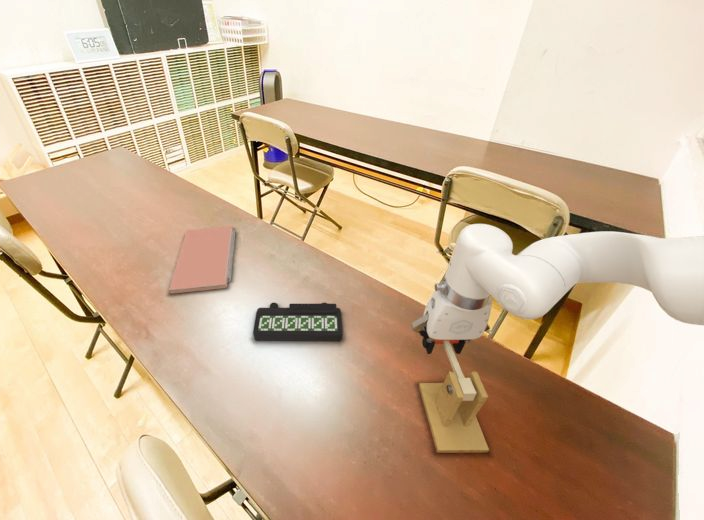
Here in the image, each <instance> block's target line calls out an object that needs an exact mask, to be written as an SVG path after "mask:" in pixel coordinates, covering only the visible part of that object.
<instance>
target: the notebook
mask: <svg viewBox="0 0 704 520" xmlns="http://www.w3.org/2000/svg"><path fill="white" fill-rule="evenodd" d="M235 242H236V230H235V229H234V226H233V225H227V226H216V227H206V228H195V229H186V230H185V233H184V237H183V241H182V243H181V248H180V251H179V254H178V257H177V261H176V263H175V264H176V265H175V268H174V271H173V274H172V277H171V281H170V283H169V288H168V291H169V294H170V295H172V294H173V295H174V294H182V293H191V292H199V291H210V290H220V289H227V288H228V283H229V282H231V280H232V274H233V273H232V272H233V261H234V253H235Z"/></svg>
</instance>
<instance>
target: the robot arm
mask: <svg viewBox="0 0 704 520" xmlns="http://www.w3.org/2000/svg"><path fill="white" fill-rule="evenodd" d="M513 249H514V244H513V241H512V239H511V237H510V235H508V233H506V232H505V231H504V230H502V229H501V228H499V227H497V226H494V225H491V224H488V223H473V224H468V225H467V226H465V227H464V228H462V230H460V233H458V236H457V239H456V242H455V245H454V248H453V250H452V254H451V257H450V259H449V262H448V264H447V268H446V270H445V274H444V276H443V278H442V280H441V282H438V283H434V291H433V293H432V294H431V296H430V298H429V300H428V302H427V303H426V305H425V308H424V311H423V313H422V316H420V317H418V318H417V319H416V320H414V321H413V322H410V326H411V329H412V331H414V332H415V333H417V334H419V335H420V336H421V338H422V340H421V344H422V347H423V349H425V350H426V354H427V355H431V354H433V350H434V348H435V345H436V344H435V341H434V340H435V339H438V340H459V343H457V344H451V346H452V348H453V351H454V354H456V355H461V353H462V351H463V348H465V345H466V343H470V342H471V341H472V340H477V339H479V338H481V337H482V336H483V334H484V332H486V331H489V330H490V329H491V327H490V325H489V320H490V318H491V313H492V304H493V300H494V301H495V302H496V303H498V304H499V306H501V307H502V308H503V309H504V310H505V311H506V312H508V313H509V314H511V315H513V316H515V317H517V318H520V319H522V320H537V319H539V318H541V317H543V316H545V315H546V314H547V313H548V312H550V311H551V309H553V307H554V306H555V305H556V304H557V303H559V301H560V300H561V299H562V298H563V297H564V296H565V295H566V294H567V293H568V292H569V291H570V290H571V289H572V288H573V287H574V286H575V285H576V284H591V283H592V284H595V283H596V284H597V283H599V284H600V283H602V284H603V283H605V284H606V283H607V284H623V285H630V286H635V287H638V288H641V289H644V290H646V291H648V292H650V293H651V294H652V296H653V297H654V300H655V301H656V303H657V304H658V306H659V307H660V309H661V310H662V311H663V312H665V314H666V315H668V316H669V317H671V319H674V320H675V321H678V322H680V323H684V324H687V325H694V326H695V325H696V326H704V235H697V236H695V235H694V236H684V237H683V236H682V237H666V238H665V237H663V238H662V237H657V236H653V235H647V234H639V233H630V232H622V231H612V230H611V231H606V230H604V231H588V232H580V233H572V234H563V235H556V236H551V237H545V238H542V239H539V240H537V241H534V242H533V243H531V244H529V245H528V246H526V247H525V248H524V249H522V250H521V251H520V252H519V253H517V254H516V255H515V254H514V253H513Z"/></svg>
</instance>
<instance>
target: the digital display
mask: <svg viewBox="0 0 704 520" xmlns="http://www.w3.org/2000/svg"><path fill="white" fill-rule="evenodd" d="M255 313H256V314H255V319H254V324H253V331H252V334H253V338H254V340H255V341H256V342H342V340H343V325H342V324H343V321H342V310H341V308H340V307H338V306H337V304H336V303H328V302H321V303H289V305H288V307H279V303H277V302H271V303H270V304H269V307H258V308H257V309H256V312H255Z"/></svg>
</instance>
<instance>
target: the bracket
mask: <svg viewBox="0 0 704 520" xmlns="http://www.w3.org/2000/svg"><path fill="white" fill-rule="evenodd" d="M468 378H470V379H471V382H472V384H473V386H474V388H475V391H476V393H477V394H476V396H475V398H474V400H473V401H462V400H463V398H464V396H463V393H462V391H461V388H460V385H459V383H458V380H457V377H456V375H455V372H454V371H448V373H447V375H446V376H445V379H444V382H419V383H418V389H419V393H420V395H421V400H422V404H423V407H424V411H425V414H426V415H425V416H426V418H427V422H428V425H429V429H430V433H431V436H432V441H433V444H434V447H435V450H436V451H435V452H436V453H439V454H444V453H445V454H446V453H448V454H449V453H450V454H452V453H454V454H455V453H456V454H457V453H458V454H459V453H460V454H461V453H469V454H470V453H479V454H480V453H481V454H482V453H483V454H484V453H488V452H489V451H490V448H489V446H488V443H487V440H486V438H485V436H484V433H483V431H482V428H481V425H480V423H479V420H478V418H477V415H478V413H480V411H481V409H482V407H483V406H484V404H486V401H487V399H488V398H489V395H488V393H487V390H486V389H485V386H484V384H483V381H482V379H481V377H480V375H479V373H478V371H471V372H470V374H469V376H468Z"/></svg>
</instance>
